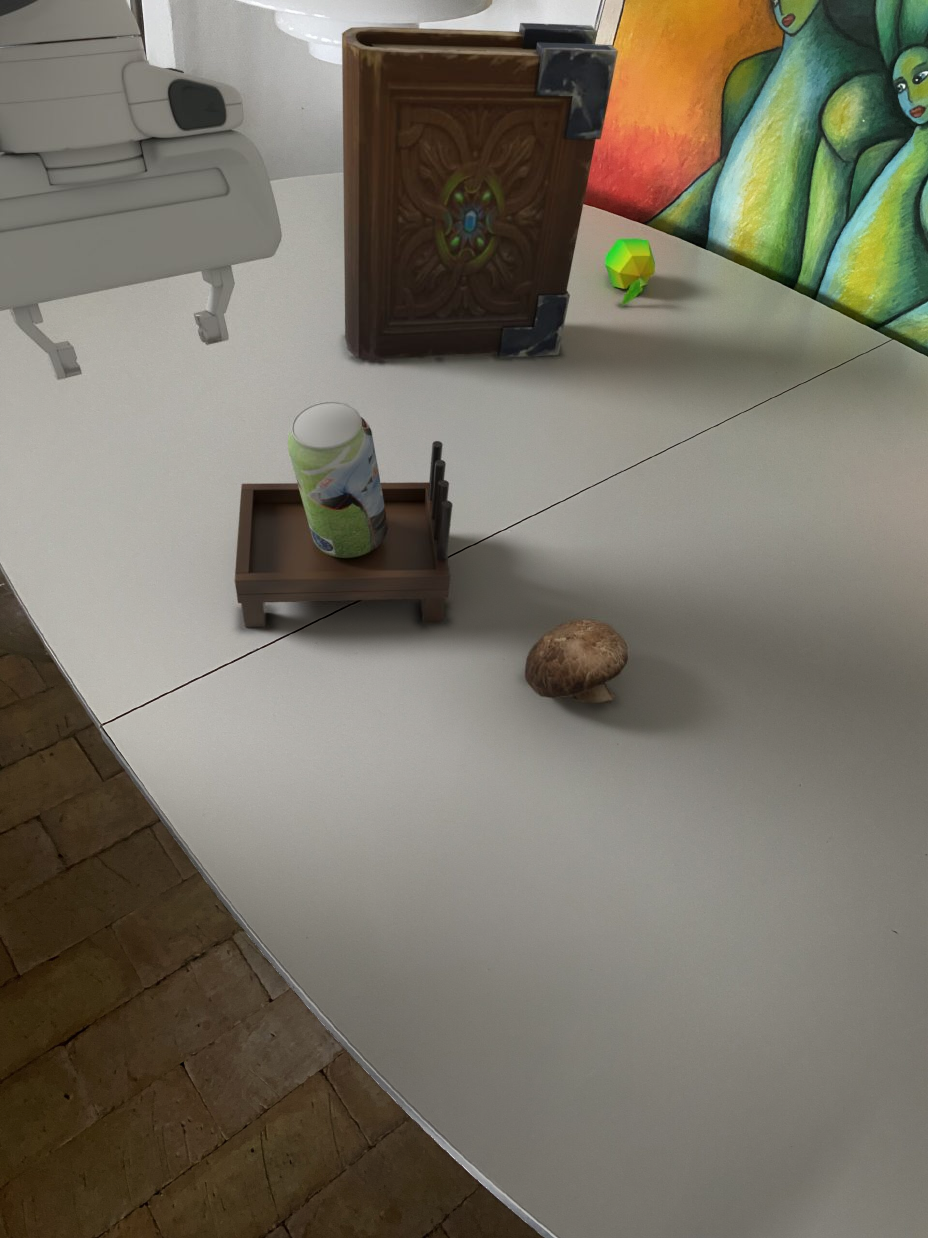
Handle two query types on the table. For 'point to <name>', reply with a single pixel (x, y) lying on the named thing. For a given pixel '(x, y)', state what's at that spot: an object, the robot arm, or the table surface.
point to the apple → (630, 266)
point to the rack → (299, 571)
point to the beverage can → (338, 479)
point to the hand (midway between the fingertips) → (144, 357)
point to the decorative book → (466, 184)
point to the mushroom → (577, 661)
